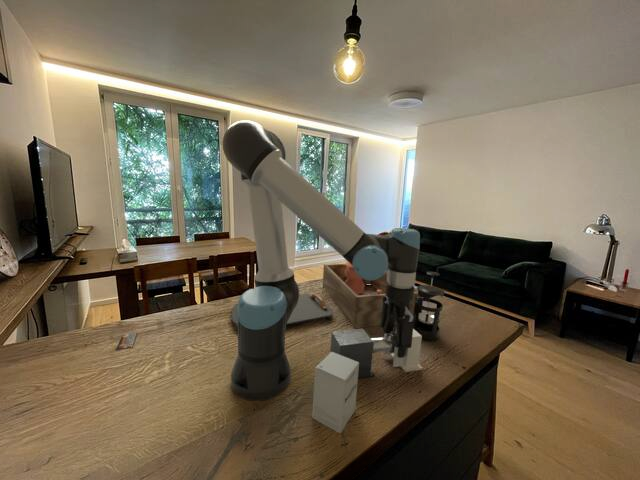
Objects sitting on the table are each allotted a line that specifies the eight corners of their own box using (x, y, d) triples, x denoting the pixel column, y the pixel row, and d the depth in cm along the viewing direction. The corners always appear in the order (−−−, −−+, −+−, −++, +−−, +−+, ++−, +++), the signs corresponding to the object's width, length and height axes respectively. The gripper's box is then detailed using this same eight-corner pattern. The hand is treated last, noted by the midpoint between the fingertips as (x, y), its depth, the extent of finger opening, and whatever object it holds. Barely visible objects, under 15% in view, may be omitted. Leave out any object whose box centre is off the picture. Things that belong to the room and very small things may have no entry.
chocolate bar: (122, 335, 89) (121, 332, 89) (139, 332, 91) (139, 330, 91) (113, 353, 79) (113, 351, 79) (133, 350, 81) (133, 347, 81)
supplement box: (341, 435, 56) (345, 381, 54) (311, 418, 60) (313, 366, 58) (356, 411, 62) (360, 361, 60) (328, 397, 66) (331, 350, 64)
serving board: (237, 341, 89) (237, 323, 87) (226, 311, 109) (226, 296, 108) (339, 320, 106) (340, 305, 105) (314, 298, 126) (314, 285, 125)
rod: (362, 361, 74) (363, 343, 73) (354, 350, 79) (356, 333, 78) (413, 354, 79) (415, 337, 78) (403, 344, 84) (405, 328, 83)
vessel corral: (353, 327, 100) (356, 297, 98) (322, 287, 139) (323, 264, 137) (418, 321, 107) (422, 292, 105) (371, 284, 146) (373, 263, 144)
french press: (446, 340, 94) (455, 277, 90) (423, 344, 92) (431, 278, 87) (424, 324, 105) (432, 266, 101) (403, 326, 103) (410, 267, 98)
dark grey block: (336, 382, 71) (338, 348, 69) (326, 361, 80) (328, 330, 78) (374, 376, 74) (377, 343, 72) (361, 357, 83) (363, 326, 81)
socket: (405, 372, 77) (409, 339, 75) (389, 353, 85) (392, 323, 83) (422, 369, 78) (426, 337, 76) (404, 351, 87) (408, 322, 85)
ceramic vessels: (414, 318, 110) (420, 273, 107) (371, 326, 101) (375, 278, 98) (365, 288, 141) (368, 252, 138) (329, 292, 133) (331, 255, 129)
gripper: (433, 296, 68) (422, 378, 73) (395, 273, 86) (388, 341, 90) (407, 297, 66) (397, 382, 71) (373, 274, 84) (367, 343, 88)
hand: (392, 359), depth 80 cm, fingers closed on rod, 5 cm apart
